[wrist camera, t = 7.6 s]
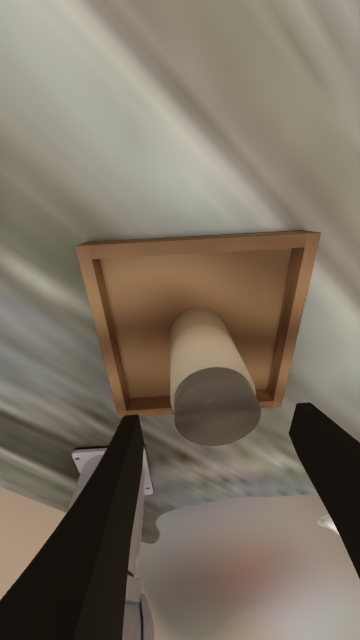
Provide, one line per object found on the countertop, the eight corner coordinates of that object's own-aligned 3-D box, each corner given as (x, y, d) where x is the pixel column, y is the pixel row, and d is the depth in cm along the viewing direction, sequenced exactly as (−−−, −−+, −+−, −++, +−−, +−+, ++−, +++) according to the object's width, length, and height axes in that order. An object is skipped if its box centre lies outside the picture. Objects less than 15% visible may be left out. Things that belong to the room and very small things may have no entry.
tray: (271, 390, 21) (281, 406, 19) (123, 400, 21) (118, 417, 19) (302, 230, 15) (320, 232, 13) (86, 242, 14) (75, 246, 13)
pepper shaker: (224, 354, 18) (259, 445, 11) (172, 357, 18) (173, 451, 11) (226, 305, 16) (271, 378, 9) (168, 309, 16) (166, 384, 9)
